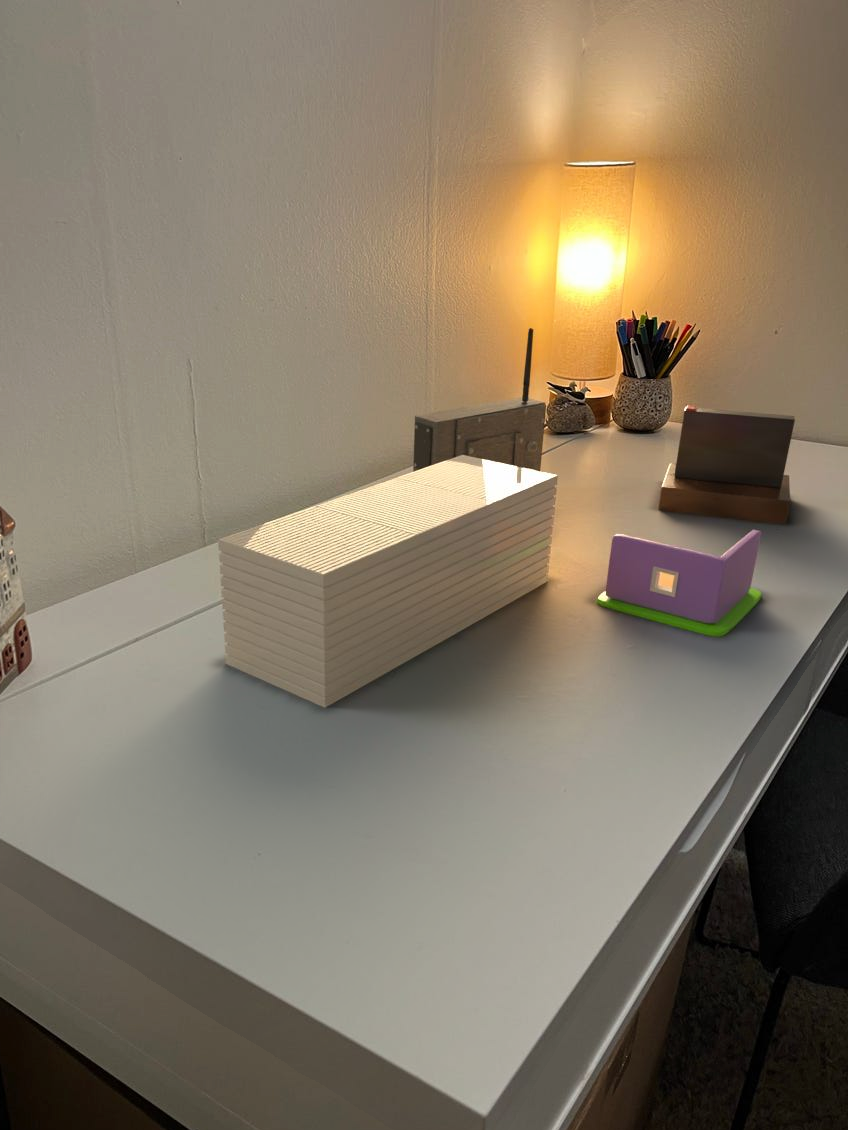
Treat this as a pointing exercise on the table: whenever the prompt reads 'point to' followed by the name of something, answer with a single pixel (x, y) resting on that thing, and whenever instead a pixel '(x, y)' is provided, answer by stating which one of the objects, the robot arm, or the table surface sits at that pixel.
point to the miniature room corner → (682, 583)
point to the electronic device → (485, 430)
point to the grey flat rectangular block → (734, 446)
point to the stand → (725, 498)
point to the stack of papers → (382, 573)
